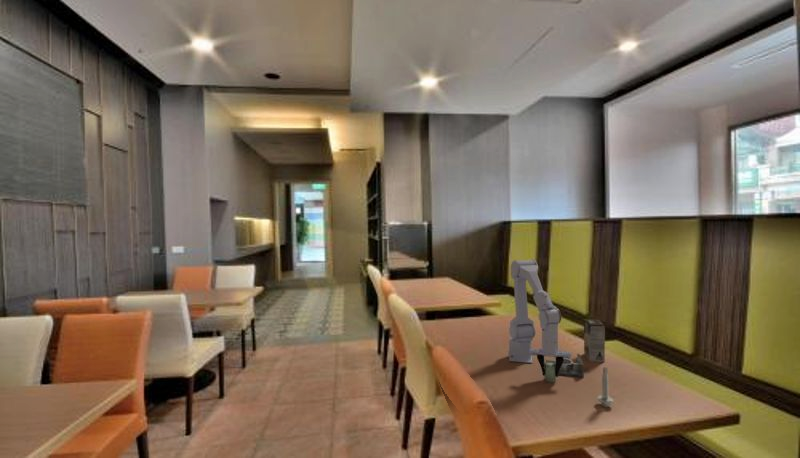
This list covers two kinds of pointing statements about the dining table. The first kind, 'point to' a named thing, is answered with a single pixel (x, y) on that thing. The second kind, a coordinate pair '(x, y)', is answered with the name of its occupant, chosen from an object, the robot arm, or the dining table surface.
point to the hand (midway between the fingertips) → (550, 375)
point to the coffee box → (594, 340)
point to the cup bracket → (570, 367)
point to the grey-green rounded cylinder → (550, 372)
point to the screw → (605, 391)
